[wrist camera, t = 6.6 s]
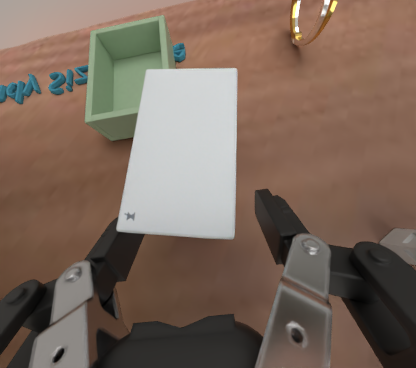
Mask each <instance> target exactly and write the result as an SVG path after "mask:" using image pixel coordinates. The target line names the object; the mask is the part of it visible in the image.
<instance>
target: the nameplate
mask: <svg viewBox="0 0 416 368" xmlns="http://www.w3.org/2000/svg"><path fill="white" fill-rule="evenodd" d="M184 49H185V47H184V44H183V43H178V44H176V45H175V46H173V52H174V59H175V61H178V62H181V61H182V60H184V59H185V50H184ZM75 71H76V72H77V73H78V74H79V75H81V76H82V77H83V78H79V79H75V80H74V81H75V83H76V84H78V85H80V84H84V83H87V79H88V77H87V76H86V75H85V74H83V73H82V72H87V71H88V65H85V66H81V67H77V68H75ZM28 75H29V77H30V79H29V81H28V83H27V84H25V83H24V82H22V81H18V84H16V83H13V82H12V83H10V84H9V85H8V86H7V87H6V86H4V85H0V102H4V101H5V100H6V98H7V95H8V96H9V97H11V98H14V99H15V101H16V102H17V103H19V104H23V99H24V96H30V95H31V93H32V91H33V89H34V90H35V91H36V92H37V93H39V94H40V93H41V91H40V88H39V85H38V83H37V80H36V78H35V76H34V75H32V74H28ZM49 76H50V78H51V79H53V80H55V79H56V80H55V81H53V82H52V83H51V84H50V85H49V87H48V88H49V90H50V91H51V93H53V94H57V95H59V94H62V93H64V90H63V89H62V88H60V86H61V85H62V84H64V83H65V81H66V83H67V85H68V86H66V89H67V90H68V91H70V92H71V91H72V90H73V89H72V87H71V86H73V72H72V71H71V70H69V69H68V70H67V77H66V78H65V77H64V75H63V74H62V73H60V72H54V73H51V74H50V75H49ZM58 87H59V88H58ZM15 91H16V92H15Z"/></svg>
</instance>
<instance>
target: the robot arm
mask: <svg viewBox="0 0 416 368" xmlns="http://www.w3.org/2000/svg"><path fill="white" fill-rule="evenodd" d="M255 214H256V217H257V220H258V222H259V225H260V227H261V229H262V232H263V234H264V236H265V239H266V241H267V243H268V246H269V248H270V251H271V253H272V255H273V258H274V260H275V262H276V265H277V264H283V265H284V267H285V268H284V271H283V275H282V278H281V280H280V283H279V286H278V289H277V293H276V296H275V300H274V303H273V307H272V310H271V313H270V317H269V320H268V324H267V327H266V331H265V334H264V337H263V336H261V335H260V334H259V333H258V332H257V331H255V330H254V329H253V328H251V327H249V326H248V325H245V324H243V323H241V322H237V321H235V319H234V314H228V315H217V316H208V317H206V318H203V319H201V320H199V321H197V322H194V323H192V324H190V325H188V326H185V327H183V328H179V327H176V326H172V325H169V324H165V323H162V322H158V321H154V322H143V323H133V326H132V329H131V333H129V330H128V328H127V327H126V325H125V323H124V321H123V317H122V312H121V308H120V303H119V299H118V294H117V290H116V288H115V285H116V282H120V281H126V279H127V276H128V274H129V271H130V269H131V266H132V264H133V261H134V259H135V257H136V254H137V252H138V249H139V247H140V244H141V242H142V240H143V237H144V235H145V234H140V233H127V232H119V231H117V230H116V226H117V222H118V217H119V216H118V217H117V218H116V219H114V220H113V221H112V222H111V223H110V224H109V226H108V227H107V228H106V230H105V232H104V233H103V234H102V235H101V237H100V238H99V240H98V241H97V243H96V244H95V245H94V247H93V248H92V250H91V251H90V252H89V254H88V255H87V257H86V258H85V260H83V261H79V262H77V263H75V264H73V265H71V266H70V267H69V268H67V269H66V270H65V271H64V272H63V273H62V274H61V275H60V277H59V278H58V279H55V280H53V281H50V282H48V283H46V284H42V283H40V282H39V281H37V280H29V281H27V282H24V283H22V284H21V285H19V286H17V287H16V288H15V289H13V290H12V291H11V292H9V293H8V294H7V295H6V296H5V297H4V298H3V299H2V300H1V301H0V355H1V354H2V352H3V351H4V350H5V348H6V347H7V345H8V344H9V343H10V341H11V340H12V339H13V337H14V336H15V335H16V333H17V332H18V330H19V329H20V328H21V326H23V327H25V328H28V329H30V330H32V331H31V332H30V334H29V335H28V337H27V338H26V340H25V341H24V343H23V344H22V346H21V347H20V349H19V350H18V352H17V353H16V354H15V356H14V357H13V359H12V360H11V362H10V363H9V365H8V366H7V368H330V353H331V330H332V306H331V304H330V303H329V301H328V294H331V295H335V296H339V297H341V298H342V300H343V302H344V303H345V305H346V307H347V308H348V310H349V312H350V313H351V315H352V316H353V318H354V320H355V321H356V323H357V325H358V326H359V328H360V330H361V331H362V333H363V335H364V336H365V338H366V339H367V341H368V343H369V344H370V346H371V348H372V349H373V351H374V353H375V354H376V356H377V357H378V359H379V361H380V362H381V364H382V366H383V367H384V368H416V271H415V270H414V269H413V268H412V267H411V266H410V265H409V264H408V263H407V262H405V261H404V260H403V259H402V258H401V257H400V256H399V255H397V254H396V253H395V252H393V251H392V250H390V249H389V248H387V247H385V246H382V245H380V244H377V243H373V242H359V243H357V244H356V245H355V246H354V248H346V247H339V246H333V245H329V244H327V243H326V242H325V241H323V240H322V239H321V238H319V237H317V236H315V235H312V234H310V233H309V232H308V231H307V229H306V228H305V227H304V225H303V224H302V223H301V221H300V220H299V218H298V217H297V216H296V214H295V213H294V212H293V210H292V209H291V208H290V207H289V205H288V204H287V202H286V201H285V200H284V199H282V198H281V197H279V196H278V195H276V196H272V194H271V193H270V191H269V190H268V189H262V190H256V191H255Z"/></svg>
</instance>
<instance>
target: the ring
mask: <svg viewBox="0 0 416 368" xmlns="http://www.w3.org/2000/svg"><path fill="white" fill-rule="evenodd" d="M337 1H338V0H322V4H321V8H320V12H319V15H318V18H317V20H316V23H315V25H314V27H313V29H312V30H311V32H310V33H309V35H308V36H307V37H306V38H305V39H303V38H302V37H301V36H302V33H301V32H299V30H298V12H299V6H300V2H301V0H292V4H291V13H290V31H291V37H292V39H291V42H292V44H293V43H294V44H295V45H296V46H303V45H307V44H309V43H311V42H312V41H313V40H315V39H316V37H317V36H318V35H319V34H320V33H321V31H322V30H323V29H324V27H325V26H326V24H327V22H328V21H329V19H330V17H331V15H332V13H333V11H334V9H335V6H336V4H337Z"/></svg>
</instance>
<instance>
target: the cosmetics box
mask: <svg viewBox="0 0 416 368" xmlns="http://www.w3.org/2000/svg"><path fill="white" fill-rule="evenodd" d="M236 145H237V69H236V68H193V69H147V70H146V72H145V78H144V84H143V89H142V95H141V100H140V106H139V111H138V116H137V122H136V127H135V133H134V138H133V144H132V149H131V154H130V160H129V165H128V170H127V176H126V181H125V186H124V191H123V196H122V201H121V207H120V212H119V217H118V222H117V226H116V230H117V231H119V232H127V233H140V234H153V235H168V236H182V237H194V238H207V239H233V238H234V235H235V207H236Z"/></svg>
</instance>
